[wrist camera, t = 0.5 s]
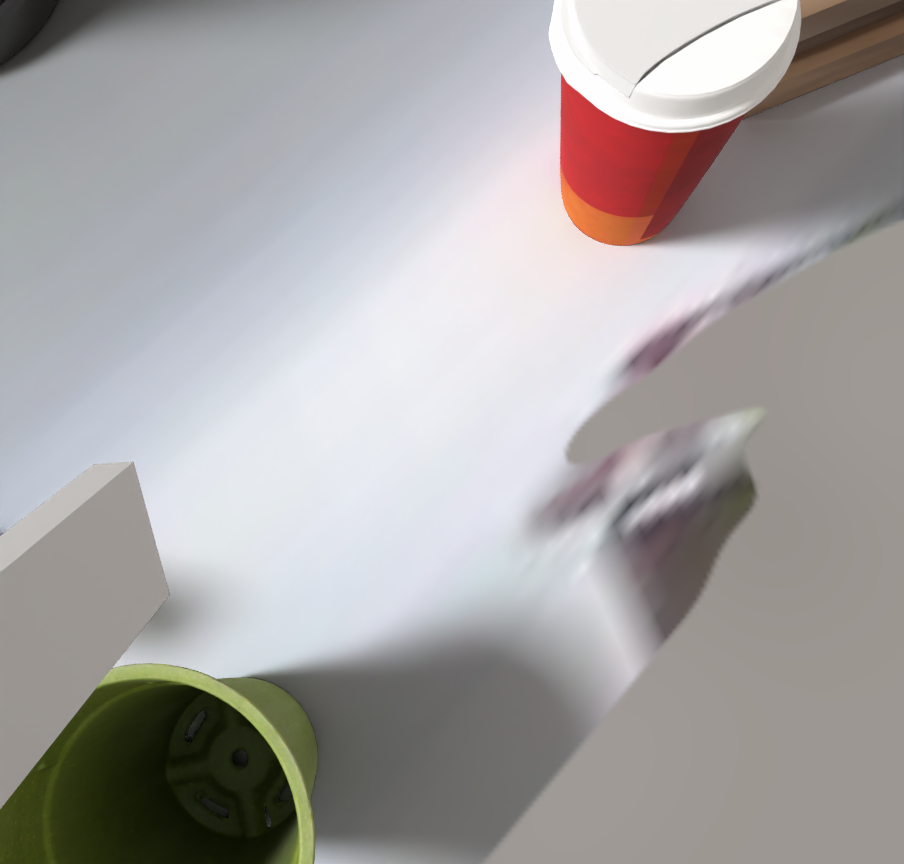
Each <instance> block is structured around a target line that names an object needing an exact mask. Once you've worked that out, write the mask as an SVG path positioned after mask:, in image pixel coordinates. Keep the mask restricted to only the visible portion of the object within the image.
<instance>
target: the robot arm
mask: <svg viewBox="0 0 904 864" xmlns="http://www.w3.org/2000/svg"><path fill="white" fill-rule="evenodd" d="M56 2H57V0H0V64H1V63H2V62H4V61H5V60H7V59H8V58H10V57H11V56H12V55H14V54H15V53H16V52H17V51H18V50H20V49H21V48H22V47H23V46H24V45H25V44H26V43H27V42H28V41H29V40H30V39H31V38H32V37H33V36H34V35H35V34H36V33H37V31H38V30H39V29H40V28H41V26H42V25H43V24H44V22H45V21H46V19H47V18H48V17H49V15H50V13H51V12H52V10H53V8H54V6H55V4H56ZM169 595H170V594H169V590H168V587H167V583H166V579H165V576H164V572H163V568H162V565H161V561H160V557H159V554H158V550H157V546H156V543H155V539H154V535H153V532H152V528H151V524H150V521H149V517H148V513H147V510H146V506H145V502H144V499H143V495H142V491H141V488H140V484H139V480H138V477H137V473H136V469H135V466H134V462H122V463H108V464H94V465H93V466H91V467H90V468H89V469H87V470H86V471H85V472H83V473H82V474H81V475H79V476H78V477H77V478H76V479H74V480H73V481H72V482H70V483H69V484H68V485H66V486H65V487H64V488H62V489H61V490H60V491H59V492H57V493H56V494H55V495H53V496H52V497H51V498H49V499H48V500H47V501H45V502H44V503H43V504H41V505H40V506H39V507H38V508H36V509H35V510H34V511H32V512H31V513H30V514H28V515H27V516H26V517H24V518H23V519H22V520H21V521H19V522H18V523H17V524H15V525H14V526H13V527H11V528H10V529H9V530H7V531H6V532H5V533H4V534H2V535H1V536H0V809H1V808H2V806H3V805H4V804H5V803H6V801H7V800H8V799H9V798H10V796H11V795H12V794H13V792H14V791H15V790H16V789H17V787H18V786H19V785H20V784H21V782H22V781H23V780H24V779H25V777H26V776H27V775H28V774H29V772H30V771H31V770H32V768H33V767H34V766H35V765H36V763H37V762H38V761H39V760H40V758H41V757H42V756H43V755H44V753H45V752H46V751H47V749H48V748H49V747H50V746H51V744H52V743H53V742H54V741H55V739H56V738H57V737H58V736H59V734H60V733H61V732H62V730H63V729H64V728H65V727H66V725H67V724H68V723H69V722H70V720H71V719H72V718H73V717H74V715H75V714H76V713H77V712H78V710H79V709H80V708H81V706H82V705H83V704H84V703H85V701H86V700H87V699H88V698H89V696H90V695H91V694H92V693H93V691H94V690H95V689H96V687H97V686H98V685H99V684H100V682H101V681H102V680H103V679H104V677H105V676H106V675H107V674H108V672H109V671H110V670H111V669H112V667H113V666H114V665H115V663H116V662H117V661H118V660H119V658H120V657H121V656H122V655H123V653H124V652H125V651H126V650H127V648H128V647H129V646H130V644H131V643H132V642H133V641H134V639H135V638H136V637H137V636H138V634H139V633H140V632H141V631H142V629H143V628H144V627H145V626H146V624H147V623H148V622H149V620H150V619H151V618H152V617H153V615H154V614H155V613H156V612H157V610H158V609H159V608H160V607H161V605H162V604H163V603H164V601H165V600H166V599H167V598H168V596H169Z"/></svg>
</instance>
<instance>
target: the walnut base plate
mask: <svg viewBox="0 0 904 864" xmlns="http://www.w3.org/2000/svg"><path fill="white" fill-rule="evenodd" d="M800 7H801V27H800V36H799V41H798V44H797V48H796V51H795V54H794V57H793V59H792V61H791V63H790V65H789V67H788V69H787V71H786V73H785V74H784V76H783V77H782V79H781V80H780V81H779V83H778V84H777V86H776V87H775V88H774V89H773V90H772V91H771V92H770V93H769V94H768V96H767V97H766V98H765V99H764V100H763V101H762V102H760V103H759V104H758V105H756V106H755V107H753V108H752V109H751V110H749V111H748V112H747V113H746V114H745V116H744V117H743V119H745V118H747V117H750V116H752V115H754V114H757V113H759V112H762V111H764V110H767V109H769V108H772V107H774V106H777V105H779V104H782V103H784V102H787V101H789V100H791V99H794V98H796V97H799V96H801V95H804V94H806V93H809V92H811V91H814V90H816V89H819V88H821V87H823V86H826V85H828V84H831V83H833V82H836V81H838V80H841V79H843V78H846V77H848V76H851V75H853V74H856V73H858V72H860V71H863V70H865V69H868V68H870V67H873V66H875V65H878V64H880V63H883V62H885V61H888V60H890V59H893V58H895V57H897V56H900V55H902V54H904V0H800Z"/></svg>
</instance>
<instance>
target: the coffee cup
mask: <svg viewBox="0 0 904 864" xmlns="http://www.w3.org/2000/svg"><path fill="white" fill-rule="evenodd" d="M800 27H801V7H800V0H555V1H554V8H553V14H552V19H551V24H550V28H549V38H550V44H551V49H552V52H553V55H554V58H555V60H556V63H557V66H558V68H559V70H560V71H561V143H560V174H561V192H562V199H563V203H564V206H565V209H566V211H567V214H568V216H569V217H570V219H571V220H572V222H573V223H574V224H575V226H576V227H577V228H578V229H579V230H580V231H582V232H583V233H584V234H585V235H587V236H588V237H590V238H592V239H594V240H596V241H598V242H601V243H605V244H609V245H617V246H625V245H633V244H637V243H641V242H643V241H646V240H648V239H650V238H652V237H653V236H655V235H656V234H658V233H659V232H660V231H662V230H663V229H664V228H665V227H666V226H667V225H668V224H669V223H670V221H671V220H672V219H673V218H674V217H675V215H676V214H677V213H678V211H679V210H680V209H681V207H682V206H683V205H684V203H685V202H686V200H687V199H688V197H689V196H690V195H691V193H692V192H693V190H694V189H695V188H696V186H697V185H698V183H699V182H700V180H701V179H702V177H703V176H704V174H705V173H706V172H707V170H708V169H709V167H710V166H711V164H712V163H713V161H714V160H715V158H716V157H717V155H718V154H719V153H720V151H721V150H722V148H723V147H724V145H725V144H726V142H727V141H728V139H729V138H730V136H731V135H732V133H733V132H734V130H735V129H736V128H737V126H738V125H739V123H740V122H741V120H742V119H743V117H744V116H745V114H746V113H747V112H748V111H749V110H751V109H752V108H753V107H755V106H756V105H758V104H759V103H760V102H762V101H763V100H764V99H765V98H766V97H767V96H768V94H769V93H770V92H771V91H772V90H773V89H774V88H775V87H776V86H777V84H778V83H779V81H780V80H781V79H782V77H783V76H784V74H785V73H786V71H787V69H788V67H789V65H790V63H791V61H792V59H793V57H794V54H795V51H796V48H797V44H798V41H799V36H800Z"/></svg>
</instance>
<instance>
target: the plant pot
mask: <svg viewBox="0 0 904 864" xmlns="http://www.w3.org/2000/svg"><path fill="white" fill-rule="evenodd" d="M216 697H217V701H216ZM200 711H203V712H204V713H205V715H206V719H205V721H204V722H203V723H202V724H201V726H200V728H199V729H198V731H197V733H196V734H195V735H194V736H193V738H192V739H193V740H192V742H187V741H186V740H185V735H186V733H187V731H188V728H189V726H190V724H191V723H192V721H193V719H194V718H195V717H196V716H197V714H198V713H199V712H200ZM190 743H191V745H190ZM189 746H190V747H189ZM239 750H243V751H245V752H246V754H247V756H248V760H247V763H246V765H244V766H241V767H238V766H237V765H235V764H234V762H233V755H234V753H235V752H237V751H239ZM317 764H318V748H317V743H316V738H315V734H314V731H313V728H312V725H311V723H310V720H309V718H308V716H307V714H306V713H305V711H304V710H303V708H302V707H301V705H300V704H299V703H298V702H297V701H296V700H295V699H294V698H293V697H292V696H291V695H290V694H288V693H287V692H286V691H284V690H283V689H281V688H280V687H278V686H276V685H274V684H272V683H269V682H267V681H263V680H259V679H254V678H223V679H215V678H213V677H211V676H209V675H206V674H204V673H201V672H198V671H195V670H191V669H188V668H183V667H179V666H172V665H165V664H153V663H148V664H132V665H125V666H120V667H115V668H112V669H111V670H110V671H109V672H108V674H107V675H106V676H105V677H104V679H103V680H102V681H101V682H100V684H99V685H98V686H97V687H96V689H95V690H94V691H93V693H92V694H91V695H90V696H89V698H88V699H87V700H86V701H85V703H84V704H83V705H82V706H81V708H80V709H79V710H78V712H77V713H76V714H75V715H74V717H73V718H72V719H71V720H70V722H69V723H68V724H67V725H66V727H65V728H64V729H63V730H62V732H61V733H60V734H59V736H58V737H57V738H56V739H55V741H54V742H53V743H52V744H51V746H50V747H49V748H48V749H47V751H46V752H45V753H44V755H43V756H42V757H41V758H40V760H39V761H38V762H37V763H36V765H35V766H34V767H33V768H32V770H31V771H30V772H29V774H28V775H27V776H26V777H25V779H24V780H23V781H22V782H21V784H20V785H19V786H18V787H17V789H16V790H15V791H14V792H13V794H12V795H11V796H10V798H9V799H8V800H7V801H6V803H5V804H4V805H3V806H2V808H1V809H0V864H314V860H315V828H314V819H313V812H312V806H311V801H310V799H311V795H312V791H313V786H314V782H315V777H316V772H317ZM287 782H289V785H290V788H291V791H292V795H291V796H290V797H289V799H288V800H286V801H285V802H282V801H281V800H280V798H279V795H280V793H281V791H282V790H283V788H284V787H285V786H286V784H287ZM202 796H206V797H208V798H209V799H210V800H211V801H213V802H215V803H216V804H217V805H219V806H221V807H223V808H226V809H227V810H228V813H227V817H228V818H225V817H223V816H221V815H220V814H216V813H214V812H213V811H210V810H209V809H208V808H206V807H205V806H204V805H202V804H201V802H200V798H201V797H202ZM264 804H265V806H266V807H267V809H268V812H269V815H270V818H271V826H270V827H268V826H267V820H266V816H265V809H264V808H265V806H264Z"/></svg>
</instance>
